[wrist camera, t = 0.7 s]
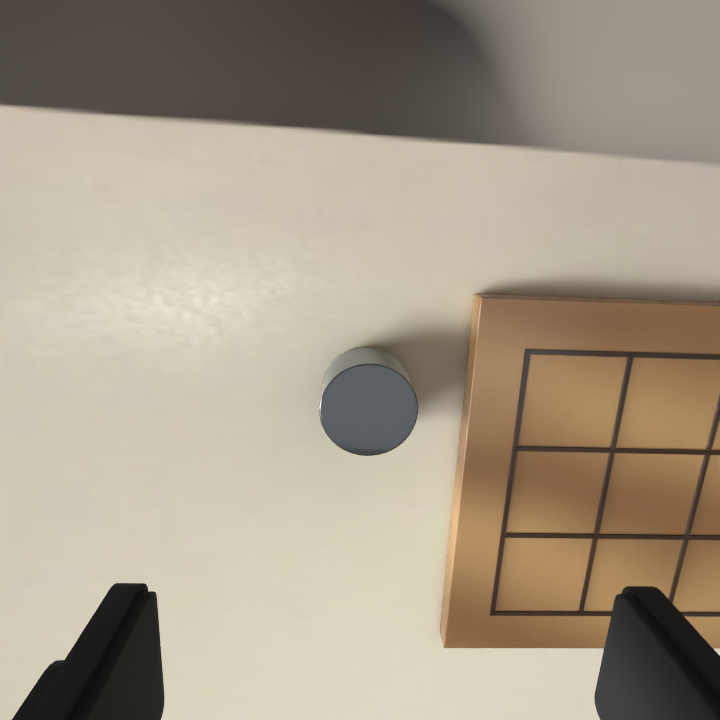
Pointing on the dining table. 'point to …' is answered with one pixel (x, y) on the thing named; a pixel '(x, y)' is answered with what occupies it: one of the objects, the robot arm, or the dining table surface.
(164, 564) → the dining table surface
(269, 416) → the dining table surface
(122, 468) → the dining table surface
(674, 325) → the game board
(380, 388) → the grey metallic short cylinder
